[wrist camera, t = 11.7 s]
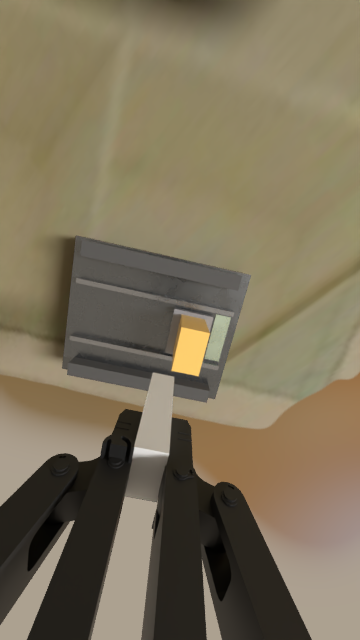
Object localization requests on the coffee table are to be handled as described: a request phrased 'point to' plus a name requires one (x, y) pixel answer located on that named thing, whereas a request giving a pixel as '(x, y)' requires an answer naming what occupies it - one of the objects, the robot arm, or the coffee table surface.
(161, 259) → the pair of guide rails
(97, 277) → the grey rail base
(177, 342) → the handle
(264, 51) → the coffee table surface
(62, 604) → the robot arm
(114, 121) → the coffee table surface
